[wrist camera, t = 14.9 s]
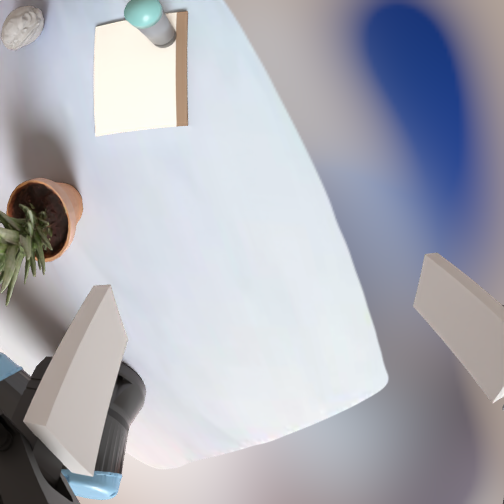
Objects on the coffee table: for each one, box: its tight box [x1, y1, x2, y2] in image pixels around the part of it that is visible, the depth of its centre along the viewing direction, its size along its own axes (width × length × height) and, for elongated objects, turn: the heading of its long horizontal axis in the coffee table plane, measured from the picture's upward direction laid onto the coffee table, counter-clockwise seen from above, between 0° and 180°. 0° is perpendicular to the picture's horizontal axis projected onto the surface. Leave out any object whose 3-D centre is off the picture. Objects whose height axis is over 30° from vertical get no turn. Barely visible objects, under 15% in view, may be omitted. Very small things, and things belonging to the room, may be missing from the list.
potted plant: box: [0, 178, 83, 306], centre depth 22 cm, size 10×10×25 cm
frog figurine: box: [1, 6, 44, 51], centre depth 19 cm, size 6×7×7 cm
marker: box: [124, 0, 177, 48], centre depth 21 cm, size 3×3×10 cm
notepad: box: [94, 11, 188, 136], centre depth 28 cm, size 11×14×1 cm
